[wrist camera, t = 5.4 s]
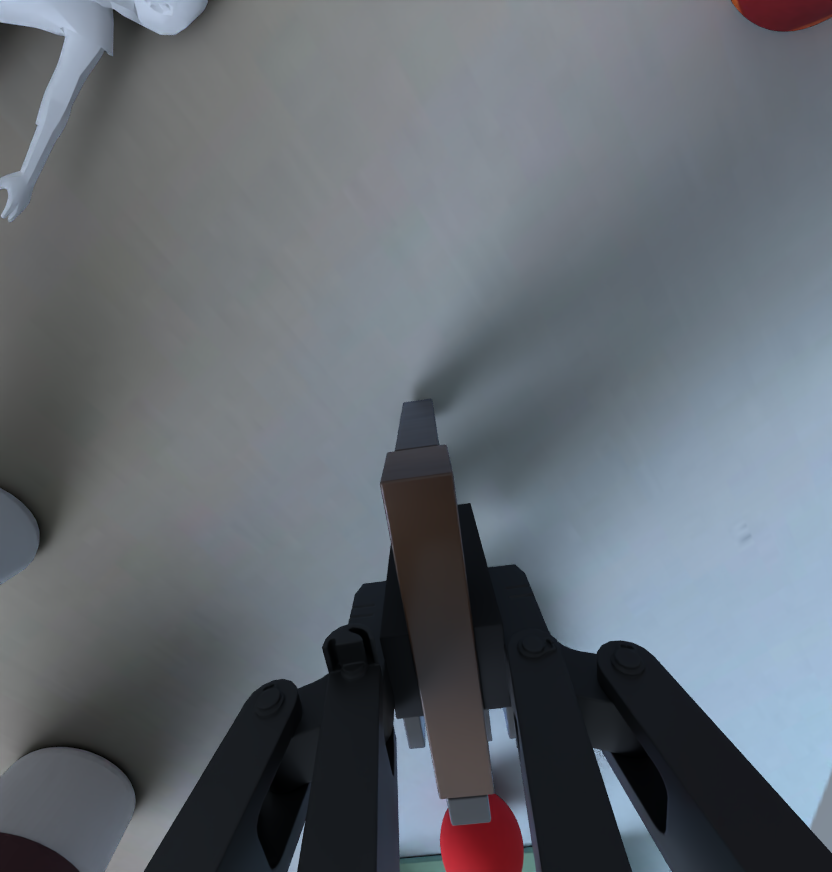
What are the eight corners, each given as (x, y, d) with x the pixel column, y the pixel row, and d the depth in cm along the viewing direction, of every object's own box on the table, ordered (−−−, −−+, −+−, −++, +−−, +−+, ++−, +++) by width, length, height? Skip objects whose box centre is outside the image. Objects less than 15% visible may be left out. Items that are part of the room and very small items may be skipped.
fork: (349, 410, 16) (288, 494, 9) (486, 390, 16) (547, 460, 8) (410, 710, 21) (404, 936, 13) (516, 699, 21) (573, 923, 13)
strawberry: (510, 765, 23) (531, 870, 18) (515, 817, 24) (537, 926, 20) (433, 773, 23) (437, 878, 19) (443, 824, 24) (448, 934, 20)
